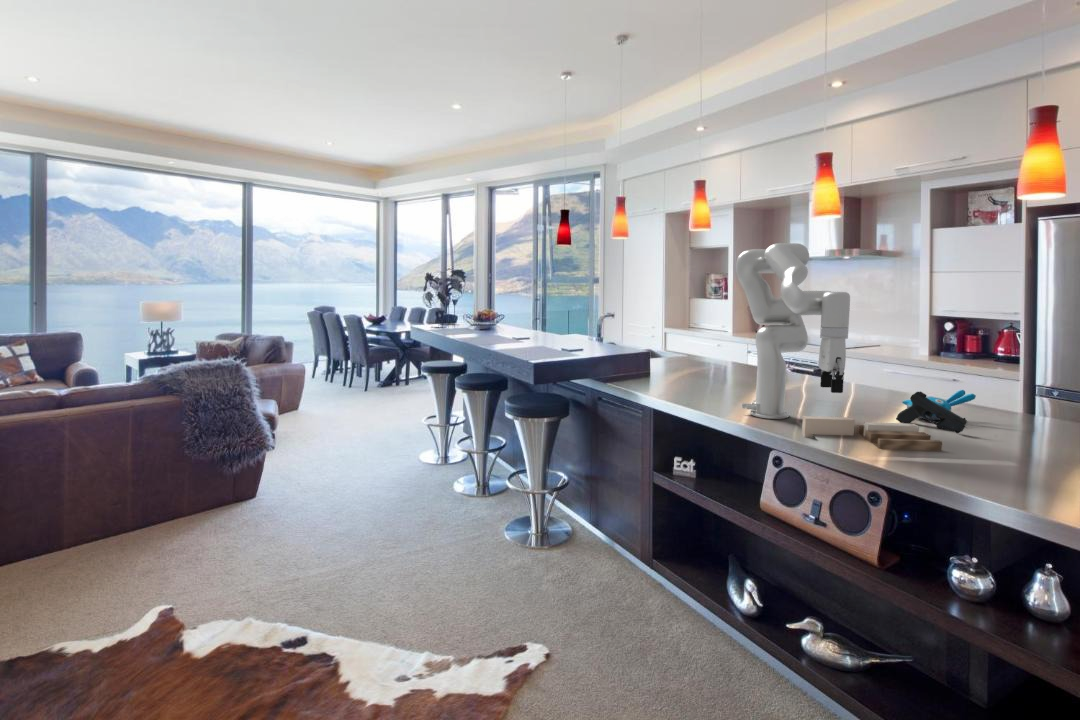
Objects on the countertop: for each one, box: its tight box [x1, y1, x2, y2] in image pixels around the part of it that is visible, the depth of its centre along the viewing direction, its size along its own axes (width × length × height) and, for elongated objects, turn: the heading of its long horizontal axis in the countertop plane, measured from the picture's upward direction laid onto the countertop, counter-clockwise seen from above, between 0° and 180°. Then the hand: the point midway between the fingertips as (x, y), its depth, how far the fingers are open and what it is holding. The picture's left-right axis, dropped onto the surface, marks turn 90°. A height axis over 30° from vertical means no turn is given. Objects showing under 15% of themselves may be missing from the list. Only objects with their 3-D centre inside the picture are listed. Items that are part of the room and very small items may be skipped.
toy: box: [901, 389, 977, 421], centre depth 208 cm, size 20×19×10 cm
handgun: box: [896, 391, 968, 434], centre depth 194 cm, size 2×17×12 cm, turn 41°
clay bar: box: [801, 415, 855, 438], centre depth 187 cm, size 14×3×6 cm, turn 83°
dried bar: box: [863, 421, 920, 436], centre depth 182 cm, size 14×3×4 cm, turn 82°
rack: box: [856, 424, 943, 452], centre depth 178 cm, size 16×17×4 cm
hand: (831, 389), depth 185 cm, fingers open, 9 cm apart
